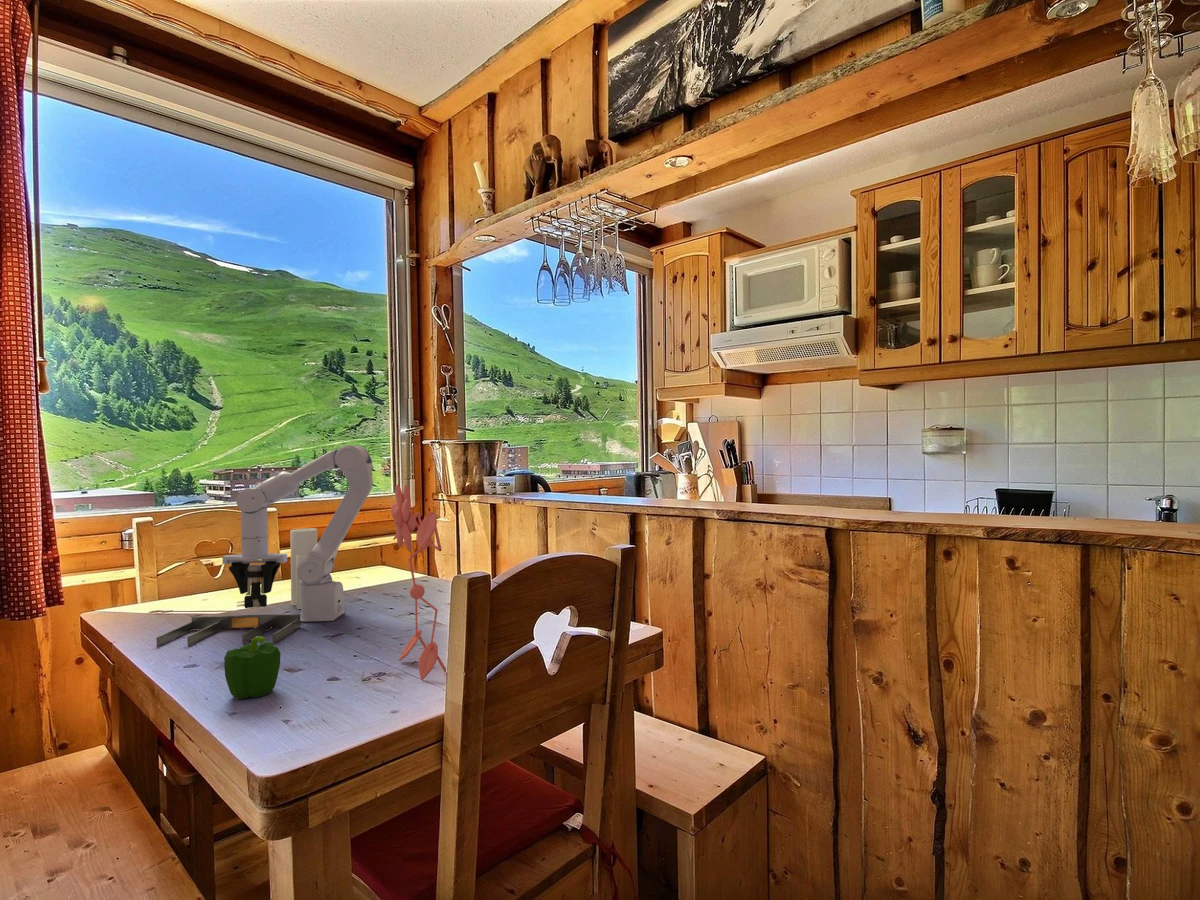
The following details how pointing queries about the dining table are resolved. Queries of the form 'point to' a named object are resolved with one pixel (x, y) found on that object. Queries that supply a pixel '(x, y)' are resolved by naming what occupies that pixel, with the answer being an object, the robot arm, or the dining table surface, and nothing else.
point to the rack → (235, 626)
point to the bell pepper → (252, 669)
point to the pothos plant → (404, 525)
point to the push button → (254, 588)
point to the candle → (300, 557)
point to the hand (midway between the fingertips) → (255, 592)
